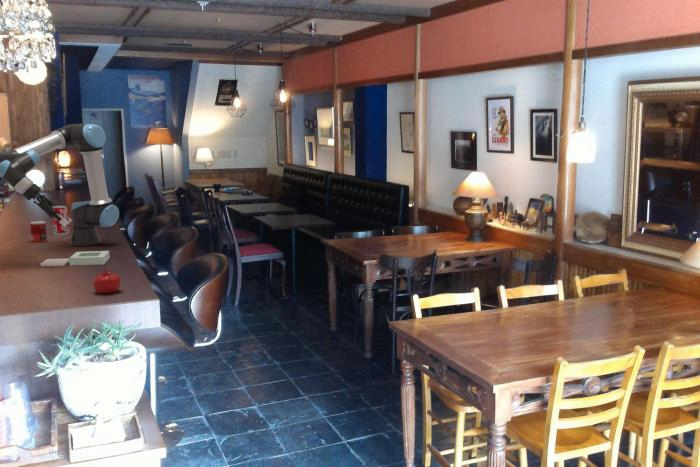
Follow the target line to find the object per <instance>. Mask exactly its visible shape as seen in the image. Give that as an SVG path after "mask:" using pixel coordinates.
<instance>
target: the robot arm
mask: <svg viewBox="0 0 700 467" xmlns="http://www.w3.org/2000/svg"><path fill="white" fill-rule="evenodd" d="M106 141H107V136H106V133H105V130H104V129H103V128H102V127H101V126H100V125H97V124H92V123H72V124H68V125H65V126H63V127H61V128H58V129H55V130H52V132H50V134H49V135H46V136H44V137H41V138H39V139H37V140H36V139H35V140H34V141H32V142H28V143H26V144H23V145H21V146H19V147H16V148H14V149H11V150H8V151H5V152H0V178H1V179H2V180H3V181H5V182H6V183H8V185H10V186H11V187H12V188H13V189H15V192H16V193H17V192H18V193H19V194H20V195H22V197H23V198H24V199H26V200H27V201H31V200H33V203H34V204H35V205H37V206H38V207H39V208H40V209H41V210H42V211H44V213H45V214H47V215H48V217H50V219H51V218H55V219H56V220H58V221H59V223H60V224H62V225H63V226H64V227H65V226H66V225H67V224H68V223H69V224H71V222H72V224H71V225H72V232H71V236H70V240H69V242H70V243H69V244H70V245H71V246H74V247H75V246H76V247H85V246H93V245H94V246H96V245H99V244H101V238H100V234H99V232H98V231H97V227H104V228H106V227H108V228H109V227H112V226H114V225H115V224H117V222H118V220H119V217H120V209H119V208H118V206H116V205H114V204H113V199H111V198H110V197H109V192H108V186H107V183H106V182H107V181H106V176H105V175H106V174H105V170H104V164H103V159H102V154H101V153H102V152H103V149H104V145H105V144H106V143H105V142H106ZM72 147H73V148H74V147H75V148H76V147H77V148H78V153H80V154H81V155H82V158H83V163H84V168H85V173H86V178H87V183H88V184H87V185H88V188H89V195H90V200H88V201H87V200H85V201H79V202H78V201H77V202H73V203H72V204H71V210H70V212H71V218H70V217H69V216H68V221H67V220H65V219H64V218H63V217H62V216H60V215H59V214H58V213H56V212H55V211H54V210H53V209H52V207H53V206H58V205H57V204H55V203H54V202H53V201H52V200H51V199H50V198H48V196H46V195H45V194H41V193H40V191H41V187H40V186H38V185H37V184H36V183H34V181H33V180H32V179H31V178H29V177H28V176H27V175H26V173H28V172H29V171H30V170H33V168H35V167H36V166H37V165H38V164H39V163H40V161H41V158H40V157H41V156H44V155H45V154H48V153H50V152H53V151H56V150H57V149H59V150H62V149H65V148H72Z"/></svg>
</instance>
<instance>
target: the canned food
mask: <svg viewBox="0 0 700 467" xmlns="http://www.w3.org/2000/svg"><path fill="white" fill-rule="evenodd" d="M29 226H30V227H29V228H30V238H31V239H30V240H31V243H33V242H43V243H45V242H44V241H48V233H47V232H48V231H47V223H46V221H44V220H39V221H38V220H37V221H36V220H35V221H31V222H29Z"/></svg>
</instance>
